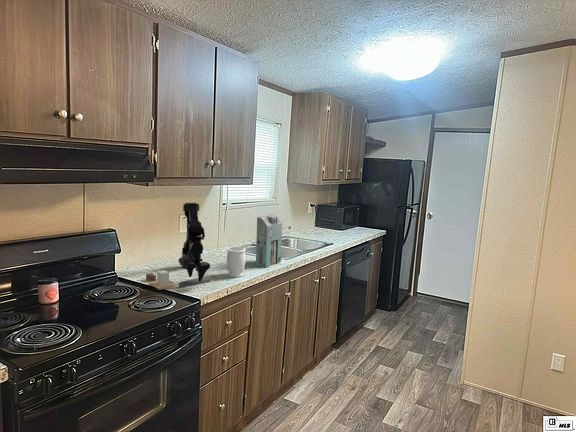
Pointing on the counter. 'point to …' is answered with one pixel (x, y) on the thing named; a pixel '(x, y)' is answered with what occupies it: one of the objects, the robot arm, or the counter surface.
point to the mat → (158, 286)
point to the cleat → (150, 277)
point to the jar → (236, 261)
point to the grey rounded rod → (193, 282)
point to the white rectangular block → (163, 277)
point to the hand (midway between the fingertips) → (195, 279)
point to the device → (268, 240)
